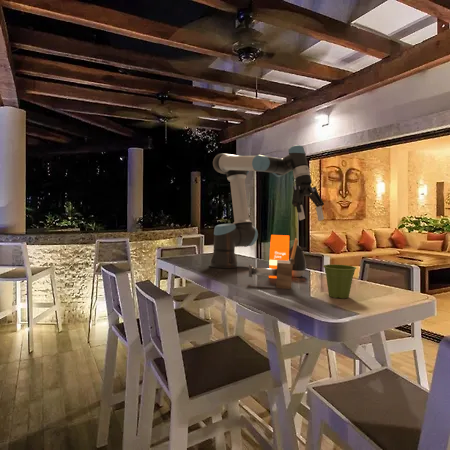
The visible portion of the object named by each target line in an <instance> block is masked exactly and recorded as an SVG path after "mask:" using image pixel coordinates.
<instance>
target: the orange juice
mask: <svg viewBox="0 0 450 450" xmlns="http://www.w3.org/2000/svg"><path fill="white" fill-rule="evenodd" d="M269 246H270V247H269V261H268V263H269V264H268V267H269V268H270V269H277V260H289V250H290V235H287V234H286V235H285V234H284V235H283V234H271V235H270V245H269ZM268 278H269V279H276V278H277V276H268Z"/></svg>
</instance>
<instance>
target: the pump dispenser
mask: <svg viewBox="0 0 450 450" xmlns="http://www.w3.org/2000/svg"><path fill="white" fill-rule="evenodd" d="M293 246H294V245H292V246H291V247H289V260H290V256H291V255H292V250H293ZM304 251H307V247H301V246H300V245H298V244H297V247H296V252H295V256H294V259H295V261H294V264H292V278H300V277H302V276H304V274H305V272H306V270H307V263H306V258H305V254H304Z"/></svg>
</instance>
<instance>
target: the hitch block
mask: <svg viewBox="0 0 450 450" xmlns="http://www.w3.org/2000/svg"><path fill="white" fill-rule="evenodd" d="M290 258H291V256H290ZM294 261H295V259H290V260H277V278H275V279H276V282H275V288H276V289H285V290H286V289H288V290H292V279H293V277H292V264H294Z"/></svg>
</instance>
